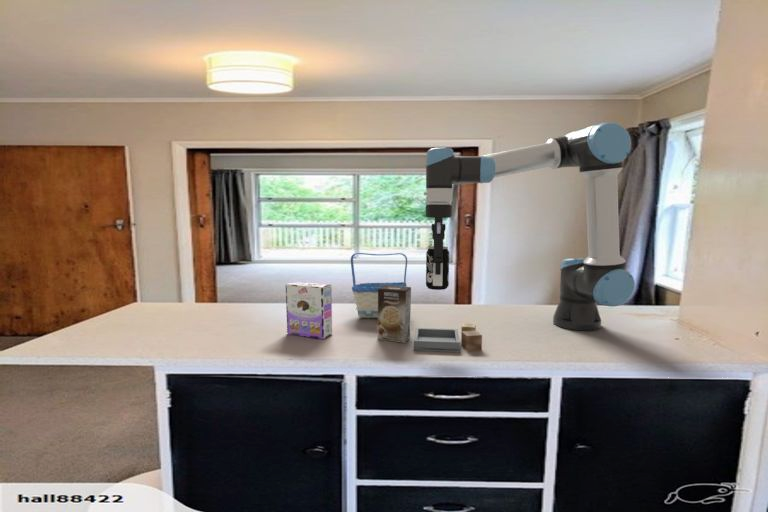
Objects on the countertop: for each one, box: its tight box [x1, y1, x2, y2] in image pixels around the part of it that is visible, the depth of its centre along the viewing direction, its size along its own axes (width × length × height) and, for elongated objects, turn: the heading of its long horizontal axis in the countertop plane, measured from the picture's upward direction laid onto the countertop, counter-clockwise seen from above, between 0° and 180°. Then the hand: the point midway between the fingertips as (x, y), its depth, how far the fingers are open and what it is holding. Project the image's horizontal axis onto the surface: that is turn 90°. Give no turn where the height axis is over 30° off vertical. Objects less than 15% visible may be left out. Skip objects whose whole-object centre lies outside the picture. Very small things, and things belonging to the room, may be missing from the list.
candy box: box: [285, 280, 333, 340], centre depth 140 cm, size 14×6×16 cm, turn 65°
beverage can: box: [425, 245, 450, 291], centre depth 129 cm, size 7×7×12 cm
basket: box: [350, 252, 408, 319], centre depth 162 cm, size 21×16×24 cm
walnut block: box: [460, 330, 483, 352], centre depth 128 cm, size 4×4×4 cm
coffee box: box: [376, 285, 412, 343], centre depth 136 cm, size 9×6×16 cm
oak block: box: [460, 322, 477, 340], centre depth 138 cm, size 4×4×4 cm
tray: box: [413, 327, 461, 353], centre depth 131 cm, size 13×13×3 cm
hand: (437, 283), depth 129 cm, fingers closed on beverage can, 6 cm apart
